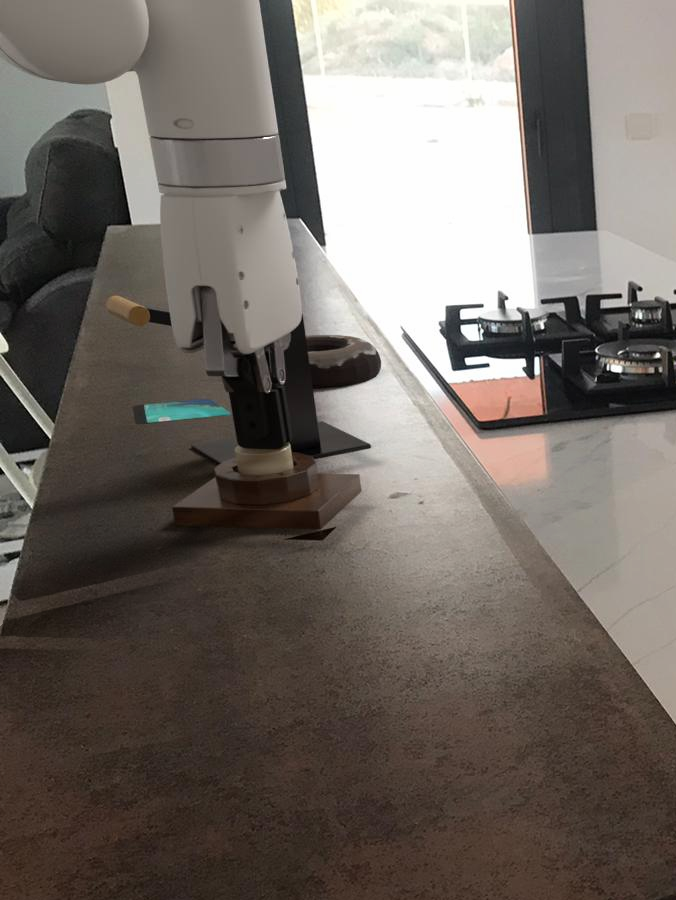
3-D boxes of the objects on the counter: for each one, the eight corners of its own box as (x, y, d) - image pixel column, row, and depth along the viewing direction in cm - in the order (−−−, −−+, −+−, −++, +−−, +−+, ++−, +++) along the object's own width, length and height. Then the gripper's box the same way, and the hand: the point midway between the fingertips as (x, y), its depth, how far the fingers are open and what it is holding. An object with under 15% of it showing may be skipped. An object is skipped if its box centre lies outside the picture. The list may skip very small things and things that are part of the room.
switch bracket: (236, 486, 97) (211, 330, 92) (193, 458, 103) (166, 311, 98) (372, 458, 104) (355, 312, 99) (324, 434, 110) (305, 295, 105)
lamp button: (229, 478, 88) (225, 453, 87) (251, 462, 91) (247, 438, 90) (281, 479, 88) (277, 454, 87) (301, 463, 91) (298, 439, 90)
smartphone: (319, 407, 115) (133, 425, 108) (320, 415, 115) (135, 433, 109) (307, 389, 121) (130, 404, 114) (308, 396, 121) (132, 413, 114)
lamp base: (177, 537, 87) (166, 481, 86) (229, 498, 94) (220, 446, 93) (322, 541, 87) (314, 485, 85) (363, 502, 94) (356, 450, 93)
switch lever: (126, 331, 90) (130, 297, 90) (103, 319, 94) (107, 287, 93) (293, 359, 99) (298, 328, 99) (267, 348, 103) (271, 318, 102)
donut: (264, 372, 129) (258, 333, 128) (385, 367, 132) (381, 329, 131) (249, 401, 119) (242, 359, 118) (381, 396, 122) (376, 354, 120)
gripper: (214, 155, 88) (257, 414, 96) (99, 177, 74) (159, 478, 82) (322, 156, 88) (357, 416, 95) (226, 179, 74) (275, 480, 82)
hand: (265, 444), depth 89 cm, fingers closed
